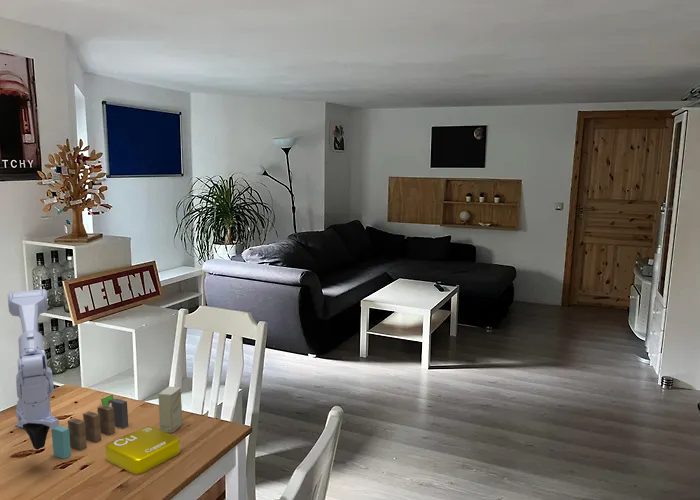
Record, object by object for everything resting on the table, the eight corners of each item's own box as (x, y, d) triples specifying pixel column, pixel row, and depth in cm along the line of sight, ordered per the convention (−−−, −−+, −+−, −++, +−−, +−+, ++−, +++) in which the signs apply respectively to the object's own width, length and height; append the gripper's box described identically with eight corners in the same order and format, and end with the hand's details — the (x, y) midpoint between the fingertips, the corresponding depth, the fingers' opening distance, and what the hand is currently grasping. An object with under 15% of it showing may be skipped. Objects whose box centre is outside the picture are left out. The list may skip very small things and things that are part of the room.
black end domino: (112, 425, 173) (111, 400, 172) (117, 422, 175) (116, 398, 174) (123, 428, 172) (121, 403, 170) (128, 425, 173) (127, 401, 172)
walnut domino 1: (69, 447, 160) (67, 420, 159) (75, 444, 162) (74, 417, 161) (80, 450, 158) (78, 424, 157) (86, 447, 160) (84, 421, 159)
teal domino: (53, 455, 156) (51, 428, 154) (60, 452, 157) (58, 425, 156) (64, 459, 154) (62, 431, 152) (70, 455, 156) (69, 428, 154)
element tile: (137, 477, 146) (136, 460, 145) (103, 460, 154) (102, 443, 153) (183, 452, 159) (182, 436, 158) (149, 438, 167) (148, 422, 166)
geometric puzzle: (89, 410, 179) (98, 394, 175) (108, 402, 185) (117, 386, 181) (102, 427, 177) (111, 411, 173) (120, 418, 183) (129, 403, 179)
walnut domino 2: (84, 439, 165) (83, 413, 163) (90, 436, 166) (88, 411, 165) (95, 443, 163) (93, 417, 161) (101, 440, 164) (99, 414, 163)
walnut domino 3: (99, 432, 169) (97, 407, 168) (104, 429, 171) (103, 404, 170) (109, 435, 167) (108, 410, 166) (115, 432, 169) (113, 407, 168)
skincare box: (172, 433, 169) (171, 395, 167) (159, 432, 170) (157, 393, 168) (183, 424, 175) (181, 387, 173) (170, 422, 176) (168, 385, 174)
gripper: (2, 399, 147) (7, 447, 149) (39, 410, 140) (43, 461, 142) (28, 389, 153) (32, 436, 155) (64, 400, 147) (68, 448, 149)
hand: (39, 447), depth 149 cm, fingers closed
